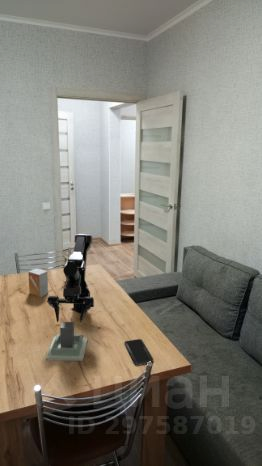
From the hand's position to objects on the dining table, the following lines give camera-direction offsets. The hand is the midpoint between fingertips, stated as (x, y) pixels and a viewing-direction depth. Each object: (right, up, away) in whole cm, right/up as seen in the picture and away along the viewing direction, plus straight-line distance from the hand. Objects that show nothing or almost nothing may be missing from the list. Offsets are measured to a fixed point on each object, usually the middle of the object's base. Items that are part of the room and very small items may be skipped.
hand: (68, 322), depth 132 cm
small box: (-25, +3, +47) cm, 53 cm away
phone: (+28, -12, -1) cm, 31 cm away
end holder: (0, -11, -1) cm, 11 cm away
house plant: (-10, +7, +66) cm, 67 cm away
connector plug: (0, -10, -1) cm, 10 cm away
